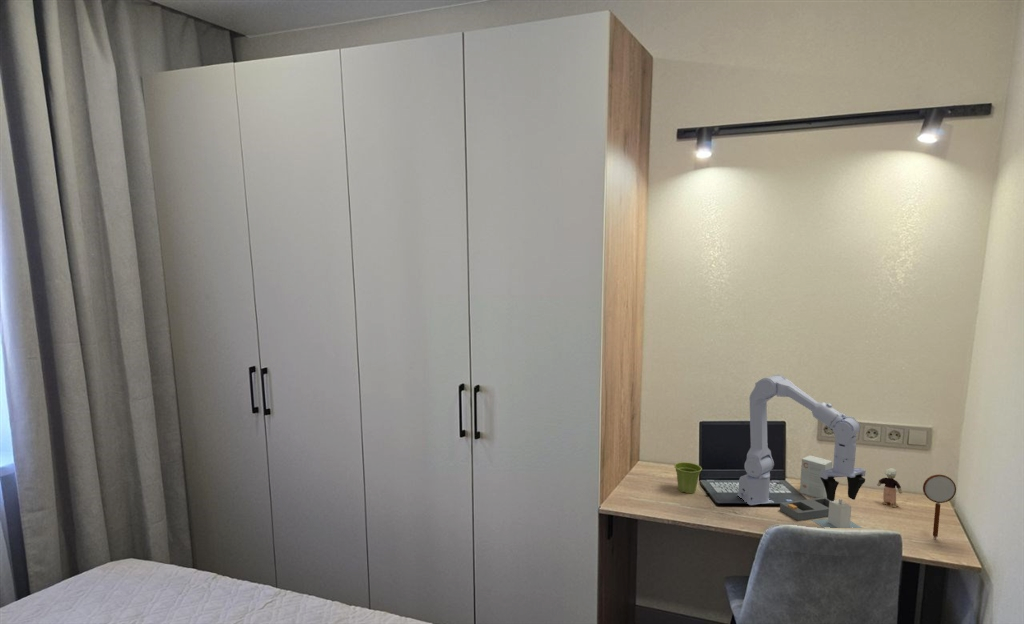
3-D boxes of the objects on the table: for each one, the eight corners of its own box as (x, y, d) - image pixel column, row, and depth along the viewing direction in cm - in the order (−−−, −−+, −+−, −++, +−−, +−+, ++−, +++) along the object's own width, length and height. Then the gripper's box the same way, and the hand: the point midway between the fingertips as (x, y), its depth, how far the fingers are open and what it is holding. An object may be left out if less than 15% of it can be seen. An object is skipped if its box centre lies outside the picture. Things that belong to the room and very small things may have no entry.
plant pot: (706, 494, 208) (707, 470, 207) (682, 496, 205) (683, 472, 204) (690, 484, 217) (692, 461, 216) (668, 486, 214) (669, 463, 213)
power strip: (797, 523, 187) (798, 511, 186) (779, 513, 194) (780, 501, 194) (847, 516, 192) (848, 504, 192) (828, 506, 200) (829, 495, 200)
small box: (830, 496, 207) (833, 461, 206) (822, 501, 203) (825, 464, 202) (807, 489, 214) (809, 454, 212) (799, 493, 210) (801, 458, 208)
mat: (834, 536, 178) (834, 534, 178) (811, 521, 188) (811, 519, 187) (868, 532, 180) (868, 531, 180) (843, 518, 190) (843, 517, 190)
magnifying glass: (920, 538, 177) (925, 474, 175) (917, 536, 179) (923, 472, 177) (952, 542, 175) (958, 477, 173) (949, 539, 177) (955, 475, 175)
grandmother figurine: (902, 505, 201) (905, 469, 199) (900, 509, 198) (903, 472, 197) (876, 499, 206) (879, 464, 205) (874, 502, 203) (876, 466, 202)
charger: (839, 529, 181) (841, 503, 181) (827, 522, 186) (829, 497, 185) (849, 528, 182) (851, 502, 181) (837, 521, 187) (839, 496, 186)
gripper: (833, 462, 176) (830, 506, 178) (874, 460, 179) (871, 502, 181) (816, 454, 183) (813, 496, 185) (856, 452, 186) (853, 493, 188)
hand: (841, 499), depth 183 cm, fingers open, 7 cm apart
